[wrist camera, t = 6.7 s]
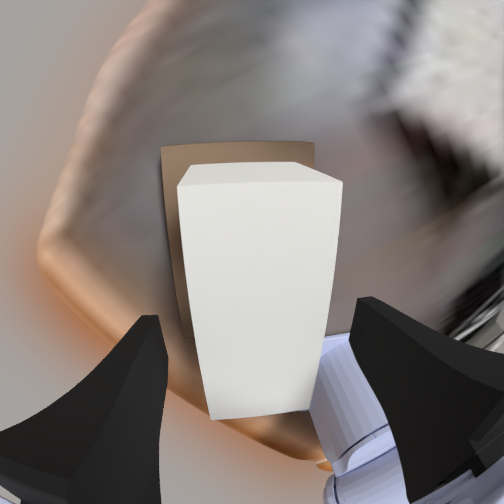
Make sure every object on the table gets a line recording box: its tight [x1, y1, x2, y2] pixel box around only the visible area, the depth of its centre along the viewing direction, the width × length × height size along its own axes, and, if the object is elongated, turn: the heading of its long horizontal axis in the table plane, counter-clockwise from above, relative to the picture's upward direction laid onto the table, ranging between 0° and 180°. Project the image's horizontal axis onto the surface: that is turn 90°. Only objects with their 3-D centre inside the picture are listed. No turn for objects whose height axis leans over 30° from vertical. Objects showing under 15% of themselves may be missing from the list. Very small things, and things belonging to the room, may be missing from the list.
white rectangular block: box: [177, 162, 343, 420], centre depth 12 cm, size 10×4×5 cm, turn 0°
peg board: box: [161, 141, 314, 338], centre depth 16 cm, size 12×8×4 cm, turn 0°
